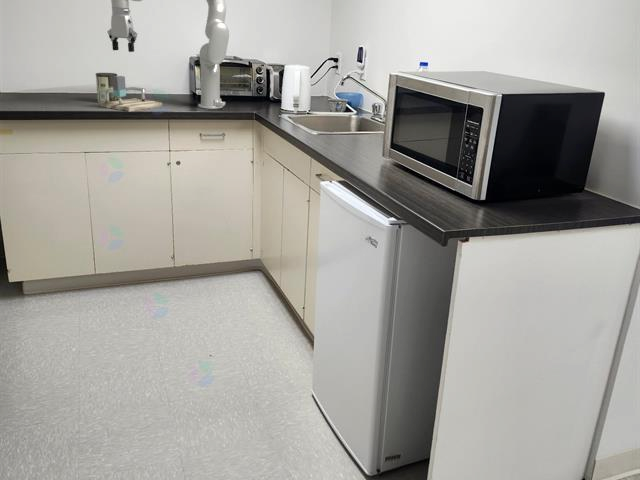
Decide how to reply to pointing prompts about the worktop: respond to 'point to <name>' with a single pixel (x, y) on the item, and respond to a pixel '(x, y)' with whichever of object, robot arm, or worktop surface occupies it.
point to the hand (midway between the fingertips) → (123, 50)
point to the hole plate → (131, 104)
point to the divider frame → (126, 90)
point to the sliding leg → (119, 87)
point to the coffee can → (105, 86)
